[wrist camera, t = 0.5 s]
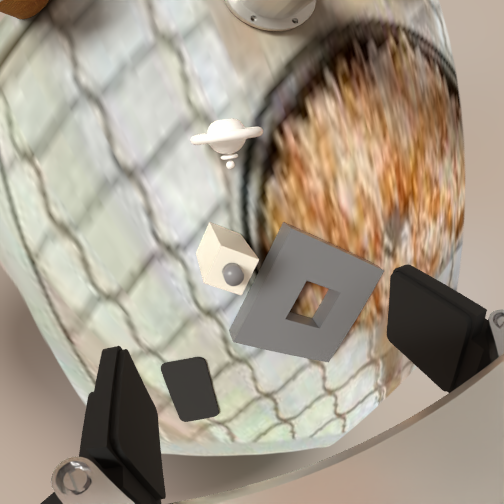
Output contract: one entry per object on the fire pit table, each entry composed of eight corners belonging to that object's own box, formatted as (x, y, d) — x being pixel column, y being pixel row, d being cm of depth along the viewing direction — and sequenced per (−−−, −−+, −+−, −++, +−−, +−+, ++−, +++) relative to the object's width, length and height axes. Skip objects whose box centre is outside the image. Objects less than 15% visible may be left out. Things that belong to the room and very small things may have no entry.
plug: (209, 222, 40) (223, 250, 31) (240, 234, 42) (263, 265, 33) (195, 252, 41) (205, 289, 32) (226, 263, 43) (244, 301, 34)
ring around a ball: (250, 116, 37) (270, 113, 30) (256, 160, 39) (276, 167, 32) (186, 125, 35) (190, 123, 28) (193, 170, 38) (198, 180, 30)
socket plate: (283, 221, 43) (291, 228, 40) (373, 263, 50) (384, 270, 47) (229, 330, 47) (233, 341, 44) (321, 352, 54) (328, 362, 51)
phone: (204, 356, 47) (220, 415, 53) (204, 353, 48) (219, 412, 54) (158, 365, 46) (181, 422, 51) (158, 361, 47) (180, 419, 52)
